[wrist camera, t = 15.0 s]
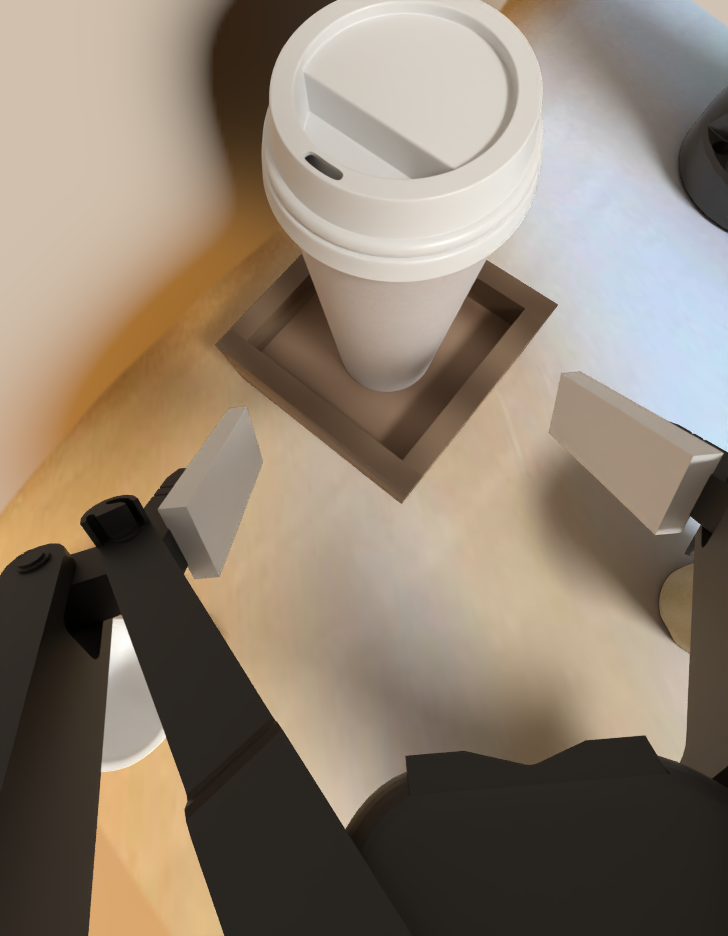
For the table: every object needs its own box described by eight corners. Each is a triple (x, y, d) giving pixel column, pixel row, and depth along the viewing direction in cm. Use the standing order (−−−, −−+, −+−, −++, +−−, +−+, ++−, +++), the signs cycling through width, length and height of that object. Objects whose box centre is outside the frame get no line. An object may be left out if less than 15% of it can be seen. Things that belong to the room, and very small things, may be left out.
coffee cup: (296, 324, 26) (190, 39, 11) (412, 267, 26) (463, -78, 11) (357, 437, 24) (331, 285, 9) (480, 374, 24) (642, 134, 10)
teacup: (98, 711, 24) (19, 759, 19) (128, 593, 25) (62, 606, 20) (241, 737, 23) (201, 794, 18) (263, 614, 25) (232, 634, 19)
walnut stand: (369, 242, 30) (367, 185, 26) (526, 346, 28) (558, 304, 23) (243, 378, 28) (215, 344, 23) (401, 504, 26) (406, 495, 21)
